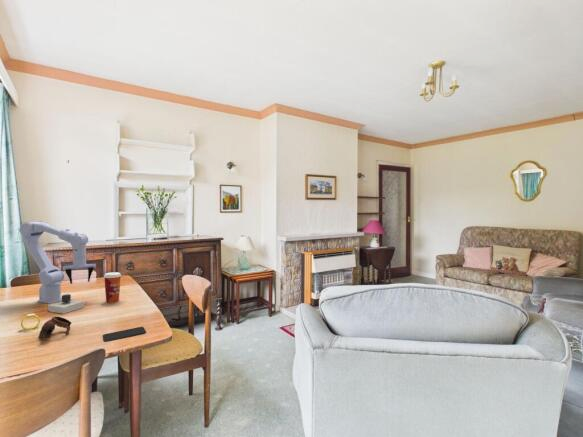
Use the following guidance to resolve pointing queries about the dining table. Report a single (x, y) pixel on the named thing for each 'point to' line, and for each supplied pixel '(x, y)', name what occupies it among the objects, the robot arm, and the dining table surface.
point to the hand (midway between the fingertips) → (80, 282)
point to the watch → (30, 316)
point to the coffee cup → (112, 286)
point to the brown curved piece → (50, 326)
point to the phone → (123, 334)
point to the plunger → (66, 298)
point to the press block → (65, 306)
